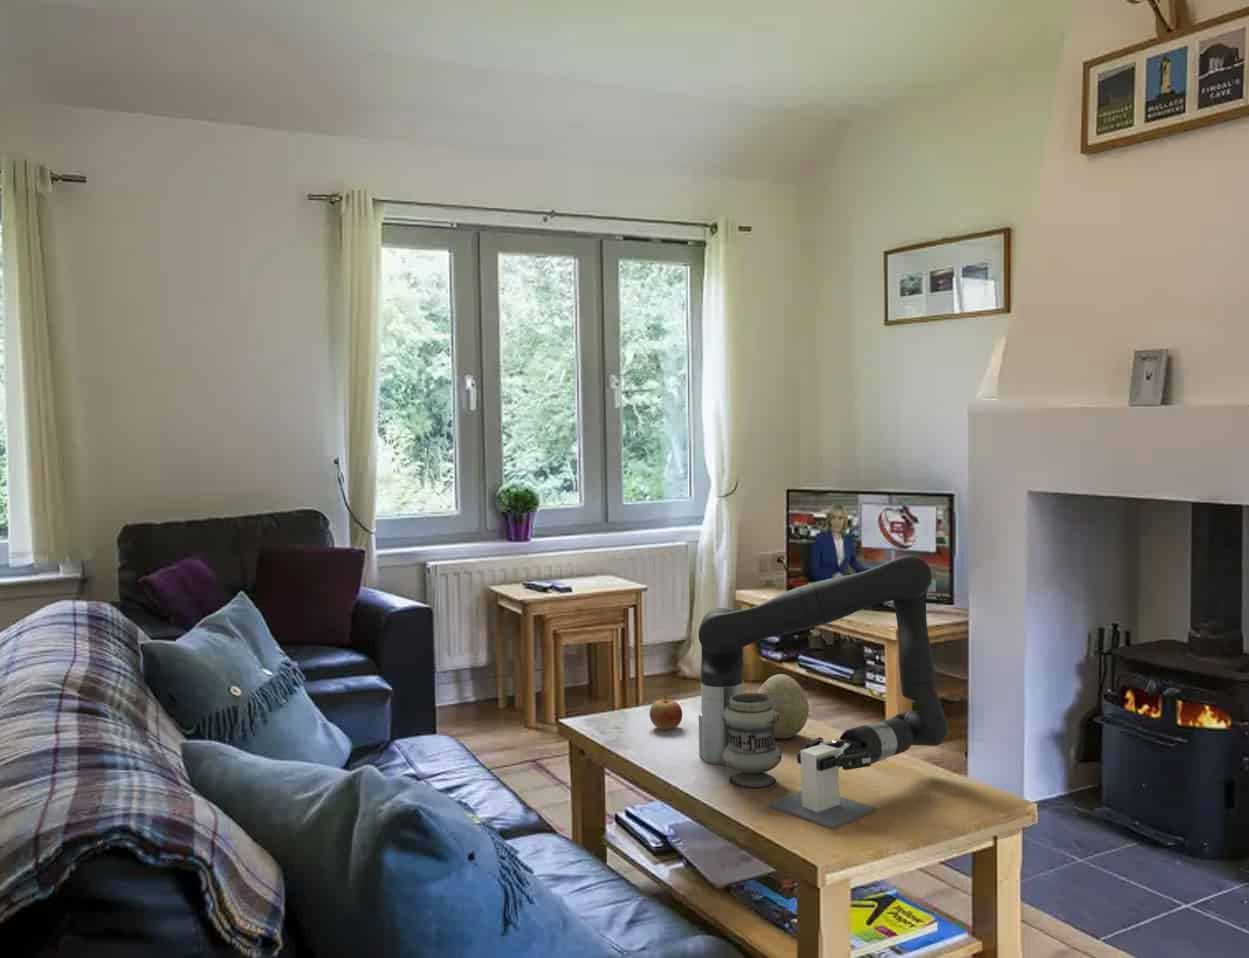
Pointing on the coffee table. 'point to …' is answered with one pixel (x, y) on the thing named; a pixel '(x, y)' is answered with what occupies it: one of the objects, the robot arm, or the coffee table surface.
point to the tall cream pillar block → (818, 779)
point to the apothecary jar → (751, 741)
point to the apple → (665, 714)
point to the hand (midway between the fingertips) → (808, 761)
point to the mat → (827, 817)
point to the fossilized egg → (787, 704)
